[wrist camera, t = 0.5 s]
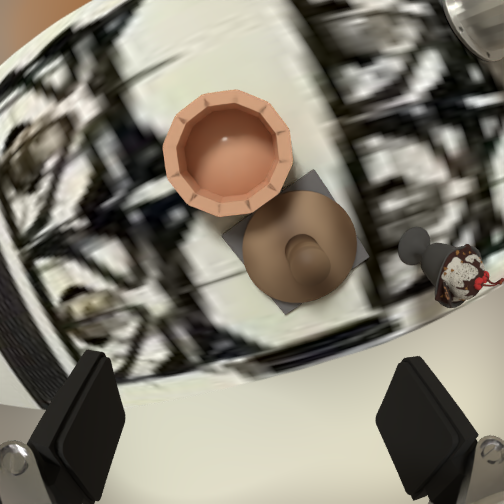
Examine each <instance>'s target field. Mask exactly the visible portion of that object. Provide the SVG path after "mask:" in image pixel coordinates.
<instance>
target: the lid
mask: <svg viewBox="0 0 504 504" xmlns="http://www.w3.org/2000/svg"><path fill="white" fill-rule="evenodd" d="M242 251H243V260H244V265H245V268H246V271H247V273H248V275H249V277H250V278H251V280H252V281H253V283H254V284H255V285H256V286H257V287H258V288H259V289H260V290H261V291H263V292H264V293H265V294H267V295H269V296H270V297H272V298H275V299H277V300H280V301H284V302H290V303H303V302H309V301H313V300H316V299H319V298H321V297H323V296H325V295H327V294H329V293H330V292H332V291H333V290H334V289H336V288H337V287H338V286H339V285H340V284H341V283H342V282H343V281H344V279H345V278H346V277H347V275H348V274H349V272H350V270H351V268H352V266H353V263H354V260H355V257H356V251H357V237H356V232H355V228H354V226H353V223H352V221H351V219H350V217H349V216H348V214H347V213H346V211H345V210H344V209H343V208H342V207H341V206H340V205H339V204H337V203H336V202H335V201H333V200H332V199H330V198H328V197H327V196H325V195H322V194H320V193H317V192H313V191H307V190H294V191H288V192H285V193H281V194H279V195H277V196H275V197H273V198H272V199H270V200H269V201H268V202H266V203H265V204H264V205H262V206H261V207H259V208H258V209H257V210H256V212H255V213H254V214H253V216H252V217H251V219H250V221H249V222H248V224H247V227H246V230H245V232H244V237H243V246H242Z"/></svg>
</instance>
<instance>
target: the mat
mask: <svg viewBox="0 0 504 504" xmlns="http://www.w3.org/2000/svg"><path fill="white" fill-rule="evenodd" d="M294 190H307V191H313V192H317V193H320V194H322V195H325V196H327V197H328V198H330V199H332V200H333V201H335V200H334V198H333V197H332V195H331V194H330V192H329V191H328V189H327V188H326V186H325V185H324V183H323V182H322V180H321V179H320V177H319V176H318V174H317V173H316V171H315V170H314V169H313V170H311V171H310V172H308V173H307V174H306V175H304V176H303V177H301V178H300V179H298V180H297V181H296V182H294V183H293V184H291V185H290V186H289V187H287V188H286V189H284V190H283V191H282V192H280V193H279V194H281V193H285V192H288V191H294ZM279 194H277V195H279ZM277 195H276V196H277ZM335 202H336V201H335ZM255 212H256V210H255V211H254V212H253V213H251V214H250V215H248V216H247V217H246V218H244V219H243V220H242V221H240V222H239V223H237V224H236V225H235V226H233V227H232V228H231V229H229V230H228V231H227V232H225V233H224V234H223V235H222V238H223V239H224V240H225V241H226V242H227V244H228V245H229V246H230V247H231V249H232V250H233V251H234V252H235V254H236V255H237V256H238V257H239V259H240V260H241V261H242V262H243V264H244V260H243V251H242V246H243V237H244V232H245V230H246V227H247V224H248V222H249V221H250V219H251V217H252V216H253V214H254V213H255ZM356 237H357V235H356ZM368 257H369V256H368V254H367V252H366V250H365V249H364V247H363V245H362V244H361V242H360V240H359V239H358V237H357V251H356V257H355V260H354V263H353V266H352V268H351V270H352V269H353V268H355V267H356V266H357V265H359V264H360V263H361V262H363V261H364V260H366V259H367V258H368ZM271 298H272V297H271ZM272 299H273V300H274V302H275V303H276V304H277V305H278V306H279V308H280V309H281V310H282V311H283V313H284V314H287V313H289V312H290V311H292V310H293V309H295V308H296V307H298V306H299V305H301V304H302V303H290V302H284V301H280V300H277V299H275V298H272ZM303 303H304V302H303Z"/></svg>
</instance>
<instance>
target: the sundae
mask: <svg viewBox="0 0 504 504" xmlns="http://www.w3.org/2000/svg"><path fill="white" fill-rule="evenodd" d="M398 252H399V256H400V258H401V260H402V261H403V262H404V263H406V264H408V265H415V264H418V263H420V262H421V268H422V270H423V272H424V274H425V275H426V277H427V278H428V279H429V280H430V281H431V283H432V284H433V285H434V286H435V300H436V301H438V302H439V303H440V304H442V305H443V306H445V307H447V308H455V307H458V306H459V305H461V304H462V303H463V302H464V301H465V300H468V299H471V298H472V297H474V296H475V295H476V294H477V293H478V292H479V290H480V289H481V288H482V287H483V286H495V285H497V284H500V285H501V284H502V282H503V281H504V279H503V278H501V279H500V280H499V281H497V282H496V283H493V282H491V281H490V280H489V273H488V272H487V271H485V269H484V265H483V262H482V258H481V255H480V252H479V251H478V249H477V248H475V247H473V246H470V245H469V244H466V245H464V246H461V247H454V246H451V245H447V244H442V243H433V244H431V245H430V237H429V235H428V233H427V231H426V230H425V229H423V228H420V227H414V228H411V229H409V230H408V231H406V232H405V233H404V235H403V236H402V238H401V240H400V242H399V247H398ZM487 281H488V282H489V283H491V284H495V285H486V284H484V283H486V282H487Z"/></svg>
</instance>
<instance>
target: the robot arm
mask: <svg viewBox="0 0 504 504" xmlns="http://www.w3.org/2000/svg"><path fill="white" fill-rule="evenodd" d="M443 8H444V12H445V15H446V17H447V20H448V22H449V24H450V26H451V28H452V29H453V31H454V32H455V34H456V35H457V37H458V38H459V39H460V41H461V42H462V43H463V44H464V45H465V46H466V47H467V48H468V49H469V50H470V51H471V52H472V53H473V54H475V55H476V56H477V57H479V58H481V59H483V60H485V61H489V62H494V61H498V60H500V59H502V58H503V57H504V0H443ZM124 423H125V412H124V408H123V405H122V402H121V398H120V395H119V391H118V387H117V384H116V380H115V376H114V372H113V368H112V364H111V360H110V358H108V357H106V355H105V353H103V352H99V351H93V350H86V351H85V352H84V354H83V355H82V357H81V358H80V360H79V361H78V363H77V365H76V366H75V368H74V369H73V371H72V372H71V374H70V375H69V377H68V379H67V380H66V382H65V383H64V385H62V386H61V387H60V388H59V390H58V391H57V393H56V395H55V396H54V398H53V399H52V401H51V403H50V404H49V406H48V408H47V409H46V411H45V413H44V415H43V416H42V418H41V420H40V421H39V423H38V425H37V427H36V429H35V430H34V432H33V434H32V435H31V437H30V439H29V441H28V443H27V445H26V444H24V443H23V442H20V441H16V440H14V441H7V442H4V443H2V444H1V445H0V504H94V503H95V501H99V500H100V499H101V496H102V493H103V489H104V485H105V483H106V479H107V476H108V473H109V469H110V466H111V463H112V460H113V457H114V454H115V450H116V448H117V444H118V442H119V439H120V436H121V433H122V429H123V427H124ZM376 425H377V427H378V429H379V432H380V434H381V436H382V438H383V440H384V443H385V445H386V447H387V449H388V452H389V454H390V456H391V458H392V461H393V463H394V465H395V468H396V470H397V472H398V474H399V477H400V479H401V481H402V484H403V486H404V488H405V491H406V493H407V494H409V495H411V497H412V499H413V500H417V499H420V498H422V497H425V496H427V495H428V497H429V499H430V500H429V503H428V504H504V441H503V440H502V439H500V438H498V437H496V436H490V435H489V436H485V437H483V438H481V439H480V440H479V441H478V442H477V440H476V438H477V437H478V433H477V432H476V430H475V429H474V427H473V426H472V425H471V423H470V422H469V420H468V419H467V418H466V416H465V415H464V413H463V412H462V410H461V409H460V408H459V406H458V405H457V404H456V402H455V401H454V400H453V398H452V397H451V396H450V394H449V393H448V392H447V390H446V389H445V387H444V386H443V385H442V384H441V382H440V381H439V380H438V378H437V377H436V376H435V374H434V373H433V372H432V371H431V369H430V368H429V367H428V365H427V364H426V363H425V362H424V360H423V359H422V358H421V357H420V356H416V357H407V358H404V359H403V360H402V362H401V363H399V364H398V366H397V368H396V371H395V373H394V376H393V378H392V381H391V383H390V385H389V388H388V390H387V392H386V395H385V397H384V399H383V402H382V404H381V406H380V408H379V410H378V413H377V415H376Z"/></svg>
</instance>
